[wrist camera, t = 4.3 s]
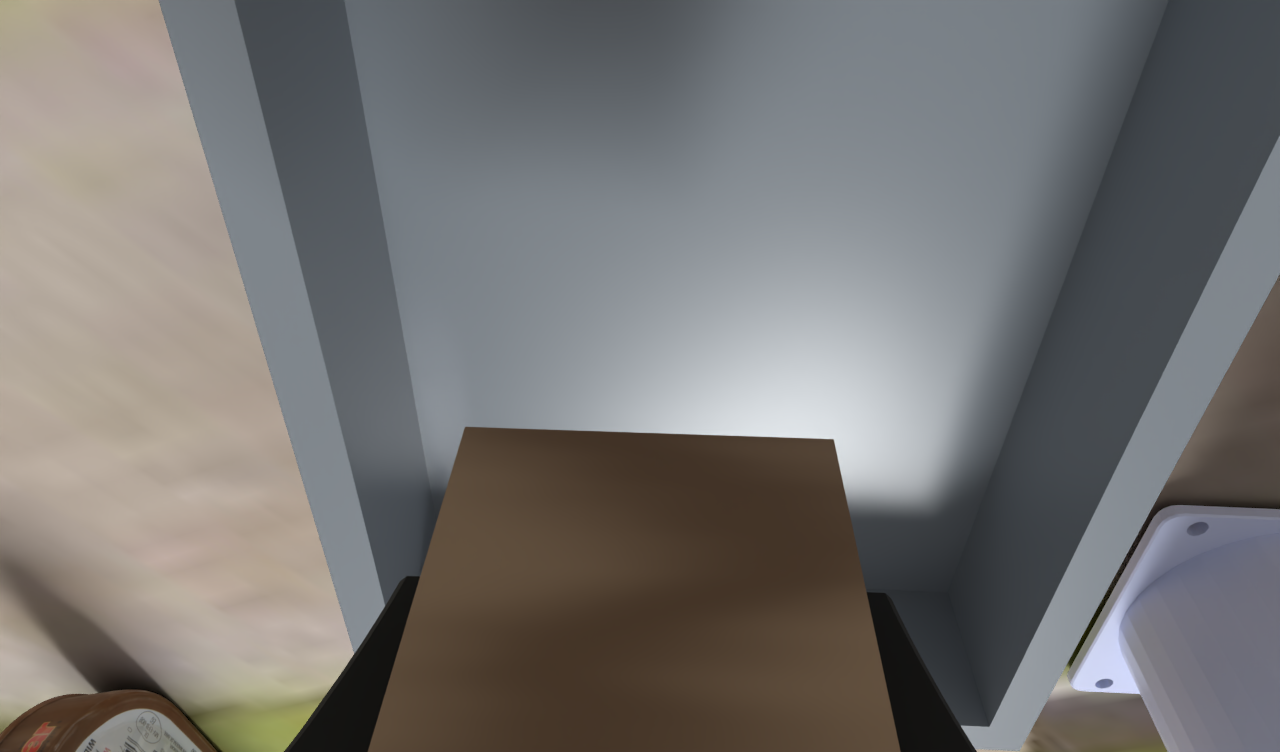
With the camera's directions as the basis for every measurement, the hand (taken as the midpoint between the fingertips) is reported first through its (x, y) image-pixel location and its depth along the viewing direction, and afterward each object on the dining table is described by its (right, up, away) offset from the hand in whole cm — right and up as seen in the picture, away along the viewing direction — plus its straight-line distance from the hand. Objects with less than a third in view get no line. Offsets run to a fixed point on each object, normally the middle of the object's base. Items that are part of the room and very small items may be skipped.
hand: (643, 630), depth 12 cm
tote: (+2, +6, +8) cm, 10 cm away
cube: (0, +1, +2) cm, 2 cm away
